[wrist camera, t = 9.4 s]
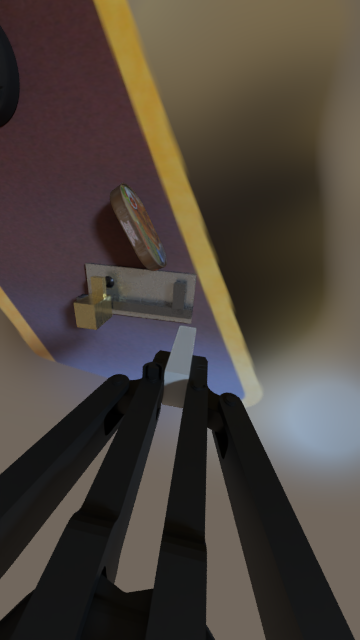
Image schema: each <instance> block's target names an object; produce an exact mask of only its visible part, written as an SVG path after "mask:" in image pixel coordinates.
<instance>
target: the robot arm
mask: <svg viewBox="0 0 360 640" xmlns="http://www.w3.org/2000/svg"><path fill="white" fill-rule="evenodd" d="M18 98H19V73H18V67H17V63H16V59H15V55H14V52H13V50H12V47H11V44H10V42H9V40H8V38H7V36H6V34H5V32H4V31H3V29H2V27H1V26H0V126H1V125H3V124H5V123H6V122H7V121H8V120H9V119H10V118H11V117H12V115H13V113H14V111H15V109H16V106H17V103H18ZM195 334H196V328H192V327H185V326H180V327H179V330H178V333H177V336H176V339H175V342H174V345H173V348H172V351H171V352H167V351H161V350H160V351H159V352H158V353H156V355H155V357H154V359H153V362H149V363H146V364H145V365H144V366H143V377H142V378H141V379H138V380H129V378H128V377H127V376H126V375H122V374H116V375H113V376H111V377H110V378H108V379H107V381H105V382H104V383H103V384H102V385H101V386H100V387H98V388H97V389H96V390H95V391H94V392H93V393H92V394H90V395H89V396H88V397H87V398H86V399H85V400H84V401H83V402H82V403H80V404H79V405H78V406H77V407H76V408H75V409H74V410H73V411H71V412H70V413H69V414H68V415H67V416H66V417H64V418H63V419H62V420H61V421H60V422H59V423H58V424H57V425H55V426H54V427H53V428H52V429H51V430H50V431H49V432H48V433H47V434H45V435H44V436H43V437H42V438H41V439H40V440H39V441H38V442H36V443H35V444H34V445H33V446H32V447H31V448H30V449H28V450H27V451H26V452H25V453H24V454H23V455H22V456H21V457H19V458H18V459H17V460H16V461H15V462H14V463H13V464H12V465H10V466H9V467H8V468H7V469H6V470H5V471H4V472H3V473H1V474H0V578H1V577H2V576H3V575H4V574H5V573H6V571H7V570H8V569H9V568H10V566H11V565H12V564H13V563H14V561H15V560H16V559H17V557H18V556H19V555H20V554H21V552H22V551H23V550H24V548H25V547H26V546H27V545H28V543H29V542H30V541H31V540H32V538H33V537H34V536H35V534H36V533H37V532H38V531H39V529H40V528H41V527H42V525H43V524H44V523H45V522H46V520H47V519H48V518H49V516H50V515H51V514H52V513H53V511H54V510H55V509H56V507H57V506H58V505H59V504H60V502H61V501H62V500H63V498H64V497H65V496H66V495H67V493H68V492H69V491H70V490H71V488H72V487H73V486H74V484H75V483H76V482H77V481H78V479H79V478H80V477H81V475H82V474H83V473H84V472H85V470H86V469H87V468H88V466H89V465H90V464H91V462H92V461H93V460H94V458H95V457H96V456H97V455H98V453H99V452H100V451H101V450H102V448H103V447H104V446H105V445H106V443H107V442H108V441H109V439H110V438H111V437H112V436H113V434H114V433H115V432H116V430H117V429H118V431H117V433H116V435H115V437H114V439H113V441H112V443H111V445H110V447H109V450H108V452H107V454H106V456H105V458H104V460H103V463H102V465H101V467H100V469H99V471H98V473H97V475H96V478H95V479H94V482H93V484H92V486H91V488H90V490H89V492H88V494H87V497H86V499H85V501H84V503H83V505H82V507H81V508H80V510H79V511H77V512H76V513H74V514H73V516H72V517H71V518H70V520H69V522H68V524H67V525H66V527H65V529H64V531H63V533H62V535H61V537H60V539H59V541H58V543H57V546H56V548H55V550H54V552H53V554H52V556H51V558H50V560H49V562H48V564H47V566H46V568H45V570H44V572H43V574H42V576H41V578H40V580H39V582H38V585H37V586H36V588H35V589H34V590H33V591H32V592H31V593H29V594H28V595H27V596H26V597H25V598H24V599H23V600H22V601H20V602H19V603H18V604H17V605H16V606H15V607H14V608H13V609H12V610H11V611H10V612H9V613H8V614H7V615H6V616H5V617H4V618H3V619H2V620H1V621H0V640H215V639H214V637H213V635H212V633H211V632H210V630H209V628H208V627H207V625H206V584H207V549H206V543H205V502H206V457H207V428H209V429H211V430H212V434H213V438H214V442H215V445H216V449H217V453H218V457H219V461H220V465H221V469H222V472H223V476H224V480H225V484H226V488H227V491H228V496H229V499H230V503H231V507H232V511H233V515H234V519H235V522H236V526H237V530H238V534H239V538H240V542H241V546H242V549H243V553H244V557H245V561H246V564H247V568H248V572H249V576H250V580H251V584H252V588H253V592H254V595H255V599H256V603H257V607H258V611H259V615H260V618H261V622H262V626H263V630H264V634H265V638H266V640H355V639H354V637H353V635H352V633H351V630H350V628H349V626H348V624H347V622H346V620H345V618H344V616H343V614H342V612H341V609H340V607H339V606H338V603H337V601H336V599H335V597H334V595H333V593H332V591H331V588H330V587H329V584H328V582H327V580H326V578H325V576H324V574H323V572H322V569H321V567H320V565H319V563H318V561H317V559H316V557H315V555H314V553H313V551H312V548H311V546H310V544H309V542H308V540H307V538H306V536H305V534H304V532H303V530H302V527H301V525H300V523H299V521H298V519H297V517H296V515H295V513H294V511H293V509H292V506H291V504H290V502H289V500H288V498H287V496H286V494H285V492H284V490H283V487H282V485H281V483H280V481H279V479H278V477H277V475H276V473H275V471H274V469H273V466H272V464H271V462H270V460H269V458H268V456H267V454H266V452H265V450H264V447H263V445H262V443H261V441H260V439H259V437H258V435H257V433H256V431H255V429H254V426H253V425H252V422H251V420H250V418H249V416H248V414H247V412H246V410H245V408H244V405H243V403H242V401H241V400H240V398H239V397H237V396H236V395H234V394H232V393H223V394H221V395H217V394H215V393H213V392H212V391H211V390H210V389H209V388H208V386H207V369H208V367H207V366H208V361H207V360H206V358H205V357H201V356H194V355H193V348H194V341H195ZM161 403H162V404H163V405H169V406H174V407H179V408H183V412H182V419H181V425H180V431H179V437H178V444H177V449H176V455H175V462H174V468H173V474H172V480H171V486H170V493H169V498H168V505H167V511H166V517H165V523H164V529H163V534H162V541H161V546H160V553H159V558H158V565H157V571H156V577H155V583H154V589H148V590H142V591H135V592H129V593H126V592H123V591H122V590H120V589H119V588H118V587H117V586H116V585H114V582H115V578H116V574H117V569H118V564H119V558H120V553H121V550H122V546H123V542H124V539H125V535H126V532H127V528H128V525H129V521H130V518H131V514H132V510H133V507H134V503H135V500H136V496H137V492H138V489H139V485H140V482H141V478H142V475H143V471H144V468H145V464H146V460H147V457H148V453H149V450H150V446H151V443H152V439H153V436H154V432H155V428H156V425H157V421H158V418H159V414H160V409H161Z"/></svg>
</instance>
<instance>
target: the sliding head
mask: <svg viewBox="0 0 360 640" xmlns="http://www.w3.org/2000/svg"><path fill="white" fill-rule="evenodd" d="M90 278H91V288H92V293H91V294H89V295H87V296H85V297H84V298H82V299H80V300H78V301H76V302H74V310H75V316H76V323H77V327H80V328H88V329H95V330H97V329H98V328H99V327H100V326H102V325H103V324H104V323H105V322H106V321H107V320H109V319H110V318H111V317H112V305H111V295H109V294H106V285H107V284H108V281H107V280H105V277H103V276H92V277H90Z"/></svg>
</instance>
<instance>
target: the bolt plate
mask: <svg viewBox="0 0 360 640" xmlns="http://www.w3.org/2000/svg"><path fill="white" fill-rule="evenodd" d="M86 273H87V282H88V290H89V294H91V293H92V288H91V278H90V277H92V276H103V277H105V280H107V281H108V284H107V285H106V294H109V295H111V297H112V298H121V299H129V300H138V301H146V302H155V303H163V304H172V302H173V286H174V282H181V283H186V293H185V304H184V306H188V307H193V302H194V293H195V284H196V274H191V273H182V272H172V271H162V270H156V271H150V270H149V269H143V268H133V267H123V266H113V265H104V264H94V263H86ZM192 311H193V310H192ZM112 314H119V315H127V316H135V317H143V318H151V319H159V320H167V321H175V322H183V323H191V321H192V317H191V319H184V318H176V317H168V316H160V315H152V314H144V313H136V312H128V311H120V310H112Z"/></svg>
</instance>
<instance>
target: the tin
mask: <svg viewBox="0 0 360 640" xmlns="http://www.w3.org/2000/svg"><path fill="white" fill-rule="evenodd" d="M110 202H111V206H112V208H113V211H114V213H115V215H116V217H117V219H118V221H119V223H120V225H121V227H122V229H123V231H124V232H125V234H126V236H127V238H128V240H129V242H130V244H131V246H132V248H133V249H134V251H135V253H136V255H137V257H138V258H139V260H140V261H141V263H142V264H143V265H144V266H145V267H146V268H147V269H149V270H150V271H156V270H158V269H160V268H163V267H166V265H167V259H166V254H165V251H164V248H163V246H162V244H161V241H160V239H159V237H158V235H157V233H156V231H155V229H154V227H153V225H152V222H151V220H150V218H149V216H148V214H147V212H146V210H145V208H144V206H143V204H142V202H141V201H140V199H139V197H138V196H137V195H136V193H135V192H134V191H133V190H132V189H131V188H130V187H129V186H128V185H127V184H125V183H121V184H120V186H118V187H117V188H115V189H114V190H113V191H112V192H111V193H110Z"/></svg>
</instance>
